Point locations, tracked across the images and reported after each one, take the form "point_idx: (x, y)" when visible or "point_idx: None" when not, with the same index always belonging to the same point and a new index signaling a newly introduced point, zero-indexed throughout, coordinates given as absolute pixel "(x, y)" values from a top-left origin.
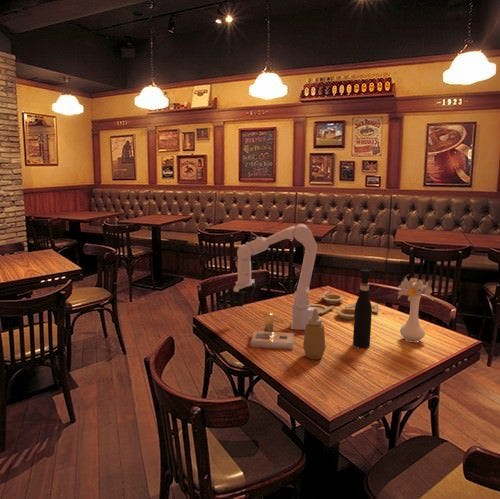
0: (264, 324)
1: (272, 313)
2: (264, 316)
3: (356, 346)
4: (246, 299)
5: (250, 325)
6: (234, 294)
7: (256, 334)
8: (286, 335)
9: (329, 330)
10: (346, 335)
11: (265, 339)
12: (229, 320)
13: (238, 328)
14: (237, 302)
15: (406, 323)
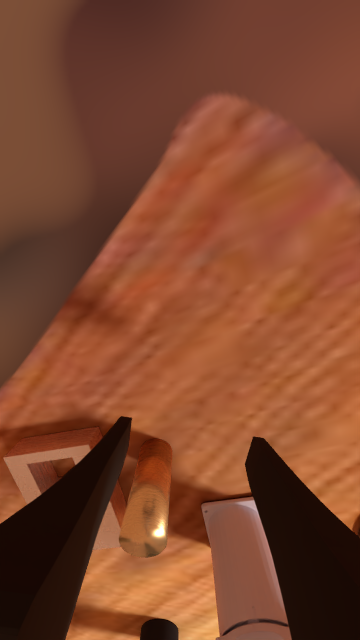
0: (136, 474)
1: (152, 553)
2: (126, 515)
3: (142, 628)
4: (258, 446)
5: (192, 383)
6: (9, 527)
7: (60, 458)
8: (98, 532)
9: None
10: (208, 606)
11: (36, 492)
12: (219, 285)
13: (145, 354)
14: (106, 439)
15: None
